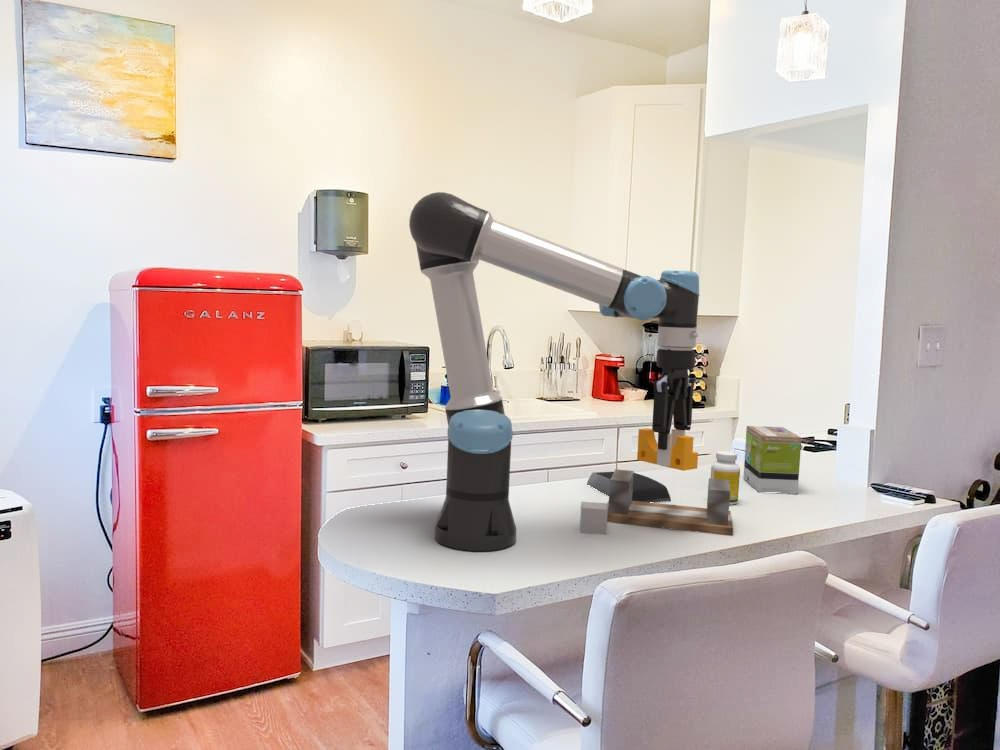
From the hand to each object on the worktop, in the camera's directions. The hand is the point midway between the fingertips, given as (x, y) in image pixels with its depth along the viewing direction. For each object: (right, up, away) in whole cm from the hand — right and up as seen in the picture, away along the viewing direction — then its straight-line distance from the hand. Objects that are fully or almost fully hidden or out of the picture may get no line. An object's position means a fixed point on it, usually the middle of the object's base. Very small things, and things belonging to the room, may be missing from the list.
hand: (670, 463), depth 161 cm
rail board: (+1, -13, +7) cm, 15 cm away
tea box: (+35, -11, +43) cm, 56 cm away
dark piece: (-4, -11, +30) cm, 32 cm away
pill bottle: (+18, -12, +25) cm, 32 cm away
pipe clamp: (-1, 0, +1) cm, 1 cm away
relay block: (-16, -13, -3) cm, 21 cm away
